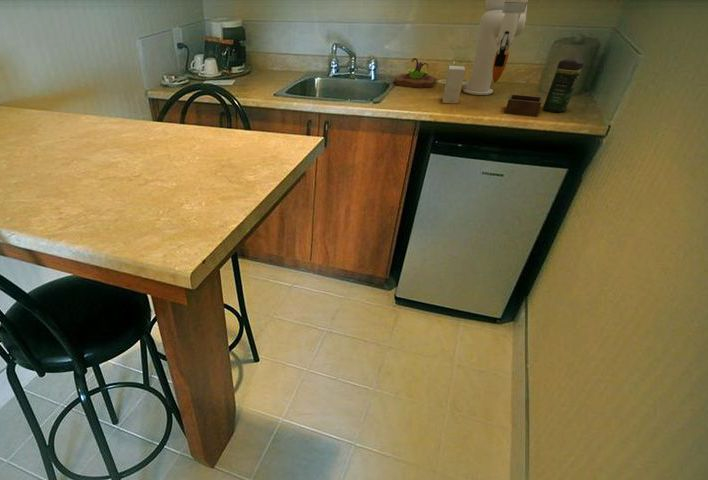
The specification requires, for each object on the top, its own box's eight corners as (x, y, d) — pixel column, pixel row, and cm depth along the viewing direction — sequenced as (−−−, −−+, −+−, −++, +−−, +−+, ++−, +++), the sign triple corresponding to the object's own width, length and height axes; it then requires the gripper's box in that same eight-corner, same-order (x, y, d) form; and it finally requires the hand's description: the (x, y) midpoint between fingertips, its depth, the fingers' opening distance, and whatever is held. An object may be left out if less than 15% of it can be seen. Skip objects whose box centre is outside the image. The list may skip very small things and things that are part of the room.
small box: (458, 103, 171) (465, 69, 163) (442, 103, 172) (449, 68, 164) (457, 99, 177) (464, 66, 169) (442, 98, 178) (448, 65, 171)
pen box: (504, 112, 160) (508, 99, 157) (507, 107, 166) (511, 94, 163) (536, 116, 155) (541, 102, 152) (537, 110, 162) (542, 97, 159)
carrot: (499, 81, 162) (511, 38, 153) (503, 84, 158) (515, 39, 149) (486, 81, 162) (497, 37, 153) (490, 83, 158) (501, 39, 149)
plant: (398, 77, 213) (402, 53, 206) (437, 80, 207) (441, 56, 200) (390, 85, 199) (393, 60, 192) (431, 89, 193) (436, 62, 186)
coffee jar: (561, 113, 158) (581, 60, 147) (540, 110, 162) (557, 58, 151) (568, 109, 163) (588, 57, 152) (547, 105, 168) (565, 54, 157)
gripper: (505, 6, 153) (491, 61, 164) (500, 9, 141) (486, 68, 152) (527, 7, 150) (512, 62, 161) (524, 10, 138) (507, 69, 149)
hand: (499, 64), depth 156 cm, fingers closed on carrot, 4 cm apart
